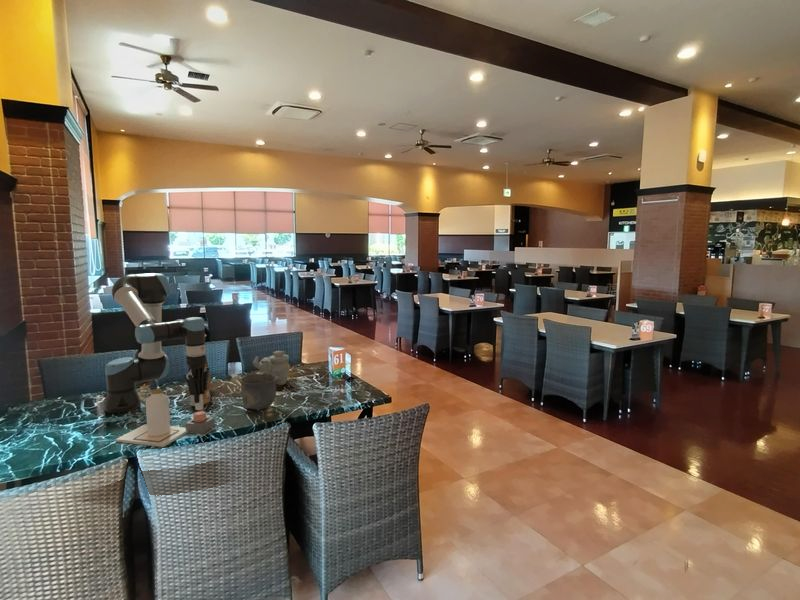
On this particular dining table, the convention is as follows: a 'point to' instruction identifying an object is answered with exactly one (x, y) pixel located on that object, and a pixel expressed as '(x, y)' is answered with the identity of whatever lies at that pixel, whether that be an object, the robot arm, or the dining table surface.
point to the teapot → (275, 366)
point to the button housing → (200, 426)
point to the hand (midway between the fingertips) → (199, 409)
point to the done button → (199, 417)
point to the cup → (258, 390)
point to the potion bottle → (157, 413)
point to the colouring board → (144, 438)
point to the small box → (205, 396)
